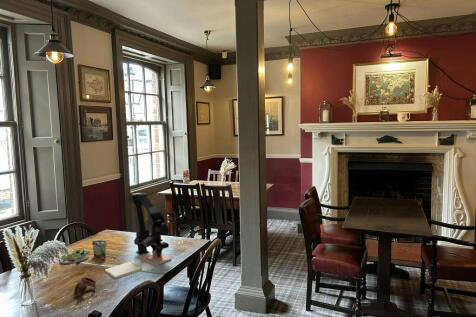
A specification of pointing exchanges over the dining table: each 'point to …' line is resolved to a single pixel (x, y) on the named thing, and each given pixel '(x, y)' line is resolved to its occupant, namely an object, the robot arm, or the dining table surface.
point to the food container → (99, 249)
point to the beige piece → (156, 258)
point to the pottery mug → (84, 286)
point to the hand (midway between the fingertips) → (157, 256)
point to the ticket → (123, 269)
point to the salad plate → (75, 256)
